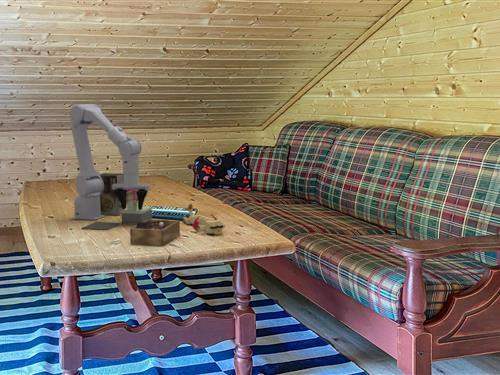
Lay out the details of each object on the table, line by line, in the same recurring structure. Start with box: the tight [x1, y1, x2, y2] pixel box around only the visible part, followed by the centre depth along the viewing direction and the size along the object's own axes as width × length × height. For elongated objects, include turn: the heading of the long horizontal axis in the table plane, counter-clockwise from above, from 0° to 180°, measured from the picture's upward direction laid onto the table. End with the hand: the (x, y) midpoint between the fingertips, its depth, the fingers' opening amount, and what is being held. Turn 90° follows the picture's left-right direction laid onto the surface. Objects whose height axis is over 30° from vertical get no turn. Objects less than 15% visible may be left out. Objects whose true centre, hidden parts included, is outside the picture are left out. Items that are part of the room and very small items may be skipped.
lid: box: [120, 200, 154, 214], centre depth 233 cm, size 9×11×5 cm
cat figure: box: [181, 203, 226, 235], centre depth 219 cm, size 10×9×25 cm
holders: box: [126, 188, 181, 247], centre depth 244 cm, size 21×104×5 cm, turn 17°
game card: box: [136, 221, 165, 230], centre depth 203 cm, size 7×5×9 cm
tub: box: [120, 209, 153, 225], centre depth 234 cm, size 8×10×4 cm
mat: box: [81, 221, 122, 231], centre depth 225 cm, size 10×11×1 cm
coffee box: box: [100, 172, 124, 216], centre depth 248 cm, size 9×6×16 cm
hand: (132, 209), depth 229 cm, fingers open, 6 cm apart
